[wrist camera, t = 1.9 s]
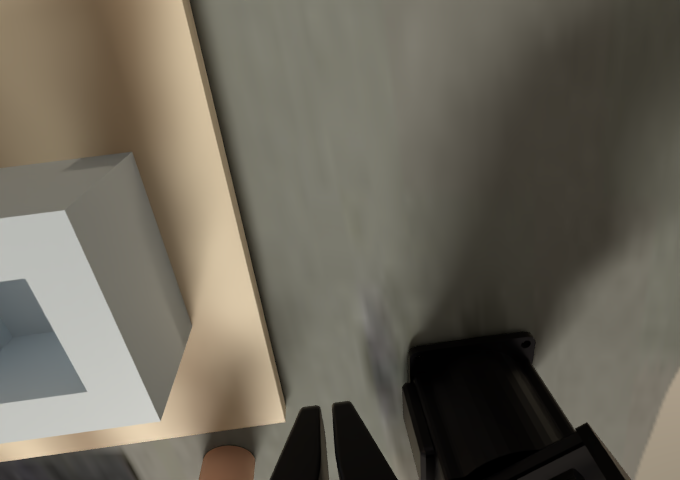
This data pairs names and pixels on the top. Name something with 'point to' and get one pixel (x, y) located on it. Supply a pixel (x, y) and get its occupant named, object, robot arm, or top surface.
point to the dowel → (228, 464)
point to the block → (84, 300)
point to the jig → (146, 188)
